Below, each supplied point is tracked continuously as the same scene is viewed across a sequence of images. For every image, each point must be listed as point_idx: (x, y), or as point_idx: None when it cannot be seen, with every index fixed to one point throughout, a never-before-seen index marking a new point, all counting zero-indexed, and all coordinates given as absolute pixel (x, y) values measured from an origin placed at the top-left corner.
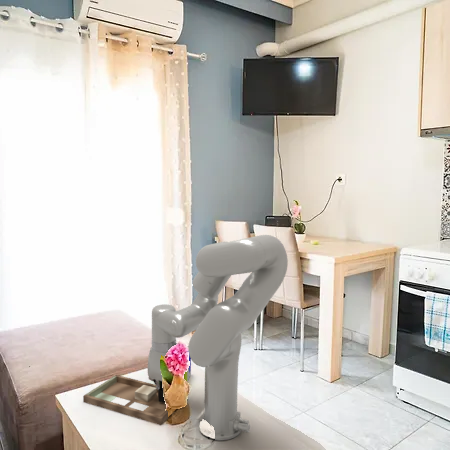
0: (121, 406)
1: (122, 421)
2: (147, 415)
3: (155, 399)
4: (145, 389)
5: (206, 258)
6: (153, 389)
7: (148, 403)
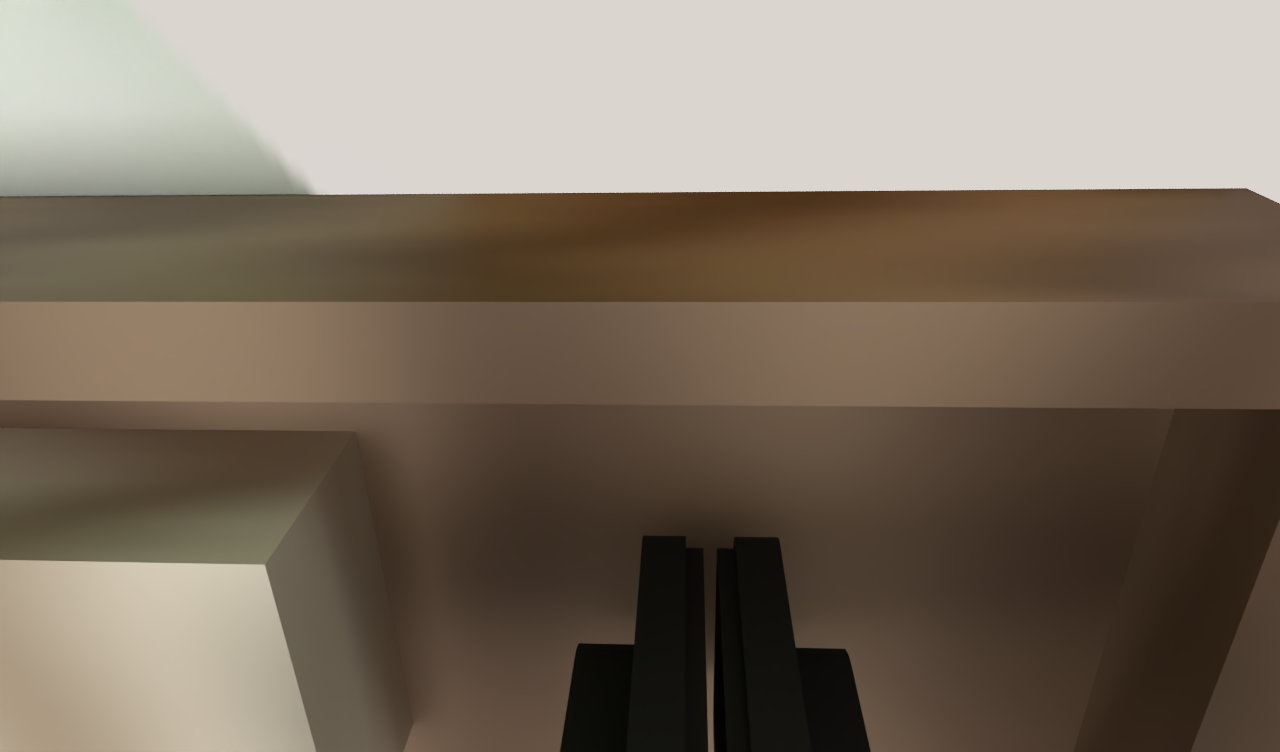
0: None
1: None
2: None
3: (472, 586)
4: (75, 734)
5: None
6: (258, 661)
7: (450, 738)
